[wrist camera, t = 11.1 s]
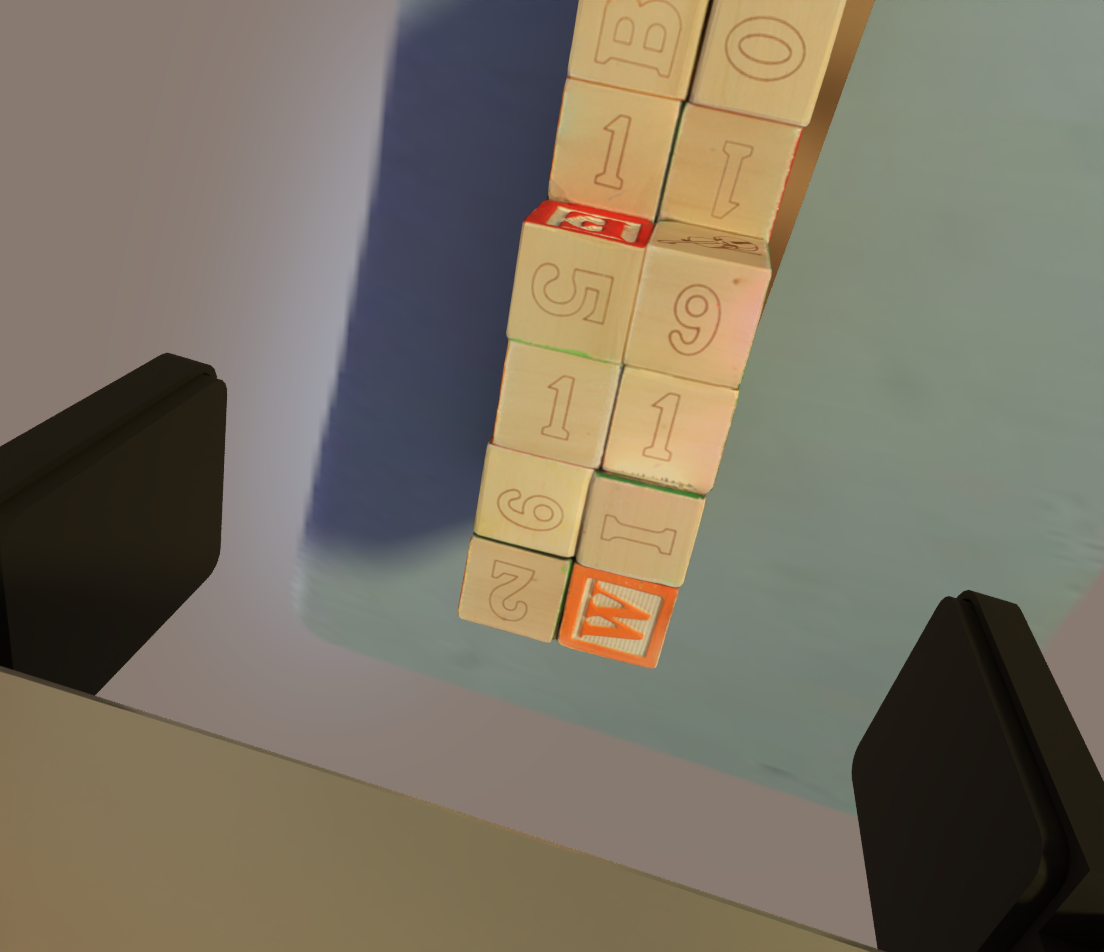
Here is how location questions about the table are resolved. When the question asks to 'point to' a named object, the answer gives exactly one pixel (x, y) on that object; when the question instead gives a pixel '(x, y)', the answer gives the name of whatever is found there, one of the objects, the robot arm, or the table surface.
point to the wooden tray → (817, 127)
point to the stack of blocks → (637, 312)
